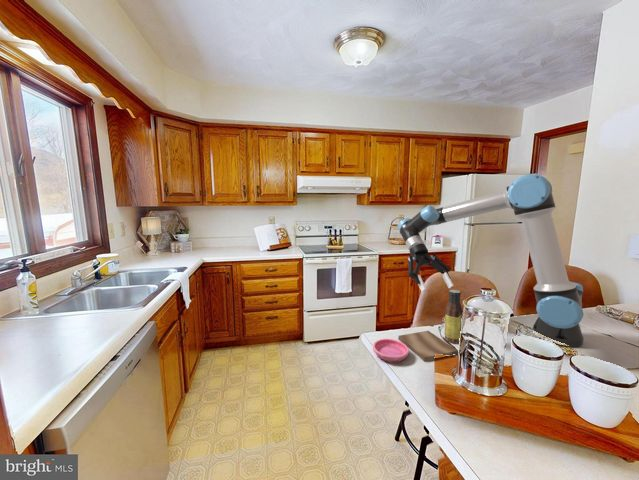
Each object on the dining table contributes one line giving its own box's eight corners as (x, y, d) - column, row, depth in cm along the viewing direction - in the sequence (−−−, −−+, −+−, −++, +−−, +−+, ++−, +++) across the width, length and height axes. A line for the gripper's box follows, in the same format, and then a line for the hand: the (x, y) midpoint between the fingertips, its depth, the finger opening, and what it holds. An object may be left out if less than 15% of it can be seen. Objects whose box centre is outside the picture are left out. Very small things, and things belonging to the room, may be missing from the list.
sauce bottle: (464, 344, 103) (467, 294, 100) (446, 343, 104) (448, 293, 101) (458, 336, 109) (461, 289, 106) (442, 335, 110) (444, 288, 108)
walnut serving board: (428, 334, 112) (428, 330, 111) (457, 354, 96) (458, 350, 96) (398, 339, 108) (398, 335, 108) (424, 361, 93) (424, 357, 92)
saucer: (398, 344, 104) (398, 336, 104) (415, 363, 92) (415, 354, 92) (367, 348, 102) (368, 340, 102) (380, 367, 90) (381, 358, 89)
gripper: (435, 250, 131) (457, 289, 119) (389, 254, 124) (407, 295, 112) (443, 241, 126) (467, 281, 113) (396, 244, 119) (416, 287, 106)
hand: (437, 288), depth 113 cm, fingers open, 13 cm apart
